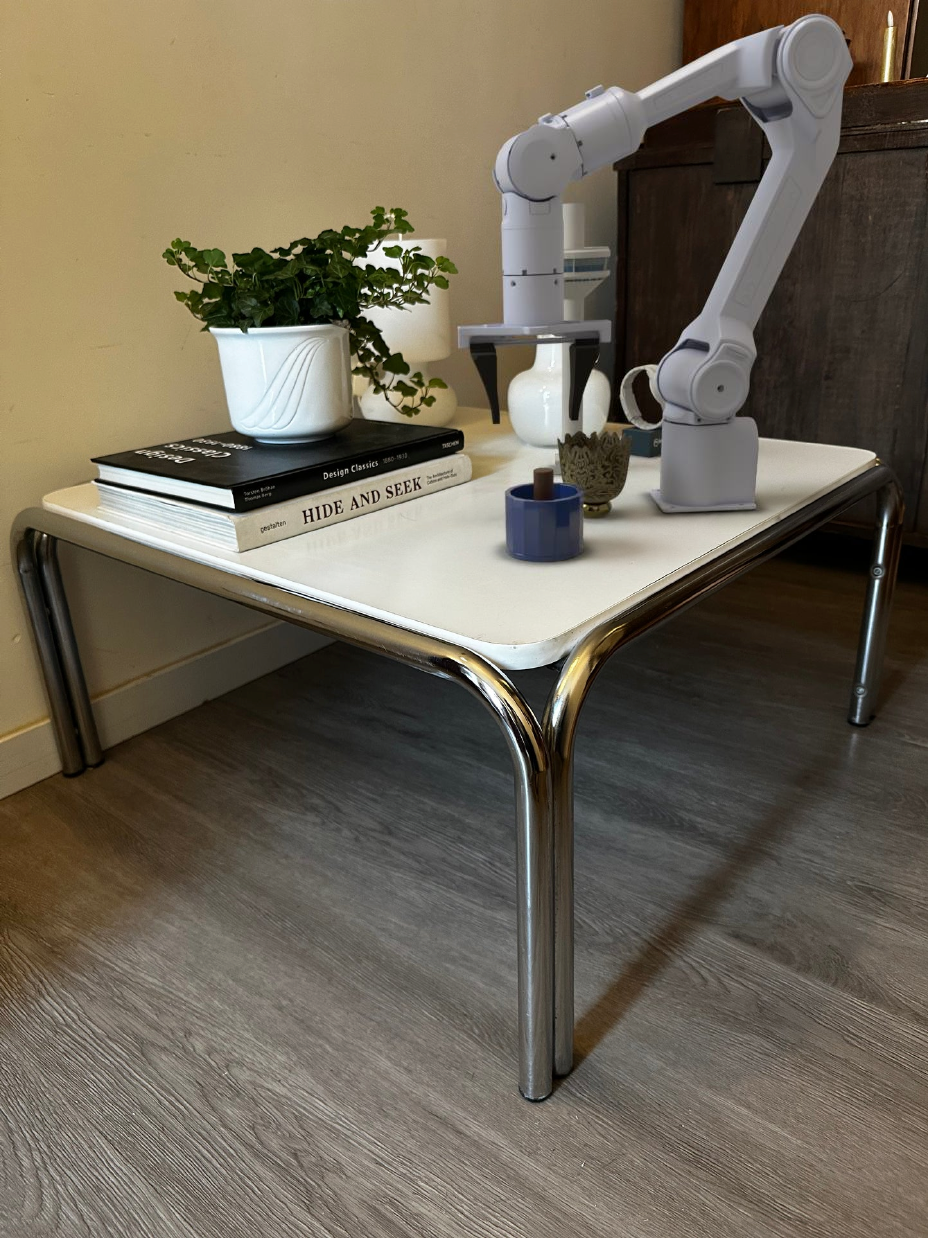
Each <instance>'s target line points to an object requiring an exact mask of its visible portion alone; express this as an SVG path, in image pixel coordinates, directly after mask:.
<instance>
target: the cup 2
mask: <svg viewBox="0 0 928 1238" xmlns="http://www.w3.org/2000/svg"><path fill="white" fill-rule="evenodd" d="M597 433H598V432H597V430H595V431H592V432H591V433H590V435H589V436H588V435H587V434H586V433H584V431H583V432H581V431H578V432H576V433H575V434H574V435H573V436H572V437H571V435H570V434H569V433H566V434H565V442H564V443H562V440H561V439H560V438H559V437H557V438H556V439H557V440H556V441H557V449H558V453H559V460H560V468H561V474H560V475H561V481H562V483H566V484H572V485H575V486H578V487H580V488H582V490H583V492H584V517H585V518H592V519H596V518H603V517H606V516H608V515H610V513H611V511H612V509H613V504H612V502H611V501H613V500H614V499H616V498H617V497H618V496H619V495H620V494H621V493H622V492H623V490H624V488H625V485H626V482H627V478H628V474H629V465H630V460H631V459H630V458H631V454H630V452H631V446H632V435H631V436H629V437H628V438H627V439H626V434H625V433H624V435H623V437H622V436H621V438H620V437H619V435H618V433H617V432H616V431H613V432H612V433H610V432H609V431H608V430H605V431H604V432H603V433H602V434H601V435H600V437H598V434H597Z"/></svg>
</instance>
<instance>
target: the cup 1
mask: <svg viewBox="0 0 928 1238" xmlns="http://www.w3.org/2000/svg"><path fill="white" fill-rule="evenodd" d="M504 516H505V518H504V519H505V547H506V554H508V555H509V556H510V557H512V558H515V559H518V560H521V561H525V562H526V561H527V562H535V563H548V562H549V563H550V562H559V561H565V560H569V559H572V558H575V557H578V556H579V555H580V554H582V552H583V551H584V549H583V547H584V519H585V518H584V492H583V490H582V488H580V487H578V486H575V485H572V484H566V483H563V482H557V481H556V482H555V481H554V500H541V501H539V500H534V482H527V483H521V484H518V485H517V484H516V485H514V486H511V487H509V488H507V489H506V490H504Z"/></svg>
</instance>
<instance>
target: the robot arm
mask: <svg viewBox="0 0 928 1238" xmlns="http://www.w3.org/2000/svg"><path fill="white" fill-rule="evenodd" d="M845 38H846V37H845V36H844V33H843V31H842V29H841V27H840V26H839V25H838V23H837V22H836V21H835V20H833V18H832V17H829V16H827V15H824V14H822V13H812V14H806V15H804V16H802V17H800V18H798V19H797V20H795V21H794V22H793V23H791V24H789V25H787V26H785V25H784V24H781V25H778V26H775V27H772V28H768V29H765V30H762V31H760V32H757V33H753V34H751V35H748V36H745V37H742V38H739V39H736V40H733V41H731V42H729V43H726V44H724V45H722V46H720V47H717V48H716V49H714V50H712V51H710V52H708V53H707V54H705V55H702V56H700V57H699V58H697V59H696V60H693V61H691V62H690V63H688V64H686V65H685V66H682V67H681V68H679V69H677V70H676V71H674V72H672V73H670V74H668V75H666V76H664V77H663V78H661V79H659V80H657V81H655V82H653V83H652V84H650V85H647V86H646V87H644V88H642V89H641V90H639V91H637V92H635V93H634V92H630V91H628V90H625V89H624V88H621V87H618V86H616V85H615V86H611V87H609V88H607V89H605V88H604V85H602V84H600V85H597V86H595V87H593V88H591V89H590V90H588V91H585V93H584V97H585V98H586V100H583V101H581V102H580V103H577V104H575V105H573V106H571V107H570V108H568V109H566V110H564V111H562V112H560V113H557V114H556V115H554V116H553V115H552V113H551V112H548V113H546V114H544V115H542V116H540V117H539V118H537V122H538V124H533V125H531V126H530V127H529V129H527V130H525V131H522V132H520V133H518V134H516V135H514V136H512V137H511V138H509V139H508V140H507V141H505V143H504V144H503V145H502V147H501V149H499V151H498V153H497V156H496V159H495V160H496V161H495V167H494V168H493V169H492V171H491V172H492V178H493V182H494V185H495V187H496V189H497V190H498V192H499V193H500V195H501V201H502V202H501V215H502V221H501V224H500V225H501V226H500V227H501V266H502V267H501V268H502V269H501V270H502V303H503V305H502V307H503V308H502V309H503V322H501V323H488V324H487V323H485V324H475V325H473V324H471V325H458V326H457V342H458V343H457V344H458V345H457V346H458V349H459V350H461V349H464V350H465V349H469V353H470V358H471V359H472V362H473V363H474V366H475V367H476V370H477V372H478V375H479V377H480V379H481V382H482V383H483V387H484V390H485V393H486V395H487V399H488V403H489V407H490V414H491V422H492V425H501V412H500V411H501V410H500V403H499V402H500V401H499V393H498V391H499V390H498V355H497V348H496V347H508V346H509V347H510V346H511V347H513V346H532V345H533V346H534V345H535V346H536V345H552V344H553V345H555V344H556V345H557V344H562V343H573V344H571V345H570V346H569V356H570V394H569V418H570V420H571V421H578V419H579V411H580V406H581V401H582V397H583V398H584V394H585V390H586V386H587V384H588V382H589V379H590V376H591V374H592V371H593V369H594V368H595V365H596V363H597V361H598V359H599V357H600V354H601V350H602V346H601V345H600V343H611V342H612V321H611V320H609V319H584V320H571V321H564V273H563V272H564V221H563V204H564V191H565V190H566V189H567V187H568V185H569V184H570V183H577V182H579V181H581V180H583V179H585V178H586V177H588V176H590V175H592V174H595V173H597V172H598V171H601V170H602V169H604V168H606V167H608V166H611V165H612V164H615V163H616V162H618V161H620V160H622V159H624V158H627V157H628V156H630V155H632V154H634V153H636V152H637V151H638V149H639V148H640V145H641V143H642V140H643V138H644V136H645V133H646V131H647V129H649V128H650V127H653V126H655V125H657V124H659V123H661V122H663V121H666V120H668V119H670V118H672V117H674V116H677V115H678V114H680V113H682V112H685V111H687V110H688V109H691V108H693V107H696V106H697V105H699V104H701V103H704V102H706V101H708V100H710V99H712V98H714V97H719V98H721V99H724V100H726V101H730V102H731V101H734V100H737V99H739V100H740V102H741V103H742V104H743V106H744V108H745V109H746V110H747V111H748V113H749V114H750V115H751V117H752V118H753V119H754V121H756V123H757V124H758V126H759V127H760V128H761V130H763V131H764V133H765V136H766V138H767V141H768V143H769V146H770V148H771V152H772V155H771V158H770V160H769V162H768V165H767V167H766V170H765V171H764V174H763V176H762V178H761V181H760V182H759V184H758V187H757V189H756V192H755V194H754V196H753V198H752V200H751V203H750V205H749V207H748V209H747V212H746V214H745V216H744V217H743V220H742V222H741V225H740V227H739V229H738V231H737V233H736V236H735V237H734V240H733V243H732V244H731V247H730V249H729V251H728V253H727V256H726V258H725V260H724V262H723V265H722V267H721V269H720V271H719V273H718V276H717V277H716V280H715V282H714V285H713V287H712V289H711V291H710V294H709V296H708V298H707V300H706V302H705V305H704V307H703V309H702V311H701V313H700V314H699V315H698V316H697V317H696V318H695V319H694V320H693V321H692V322H691V323H689V325H688V326H687V327H685V328H684V329H683V331H682V333H681V335H680V337H679V339H678V341H677V343H676V344H675V346H673V348H672V349H670V350H669V352H667V353H666V354H665V355H664V356H663V357H662V358H661V360H660V362H659V363H658V364H657V365H658V367H657V370H656V375H655V385H656V389H657V392H658V394H659V396H660V397H661V399H662V400H663V401H664V402H665V409H664V411H663V410H662V418H663V421H662V446H661V454H660V473H659V474H660V475H659V488H658V489H657V488H655V489H653V488H652V489H650V490H649V495H650V496H651V498H652V499H653V500H654V502H655V503H656V504H657V505H658V507H659V508H660V510H661V511H662V512H663V513H689V512H690V513H691V512H693V513H694V512H717V511H718V512H719V511H742V510H755V509H757V503H755V497H756V488H757V487H756V485H757V473H758V464H759V463H758V462H759V448H760V446H759V444H760V443H759V441H760V440H759V430H758V426H757V424H756V420H755V419H754V418H753V417H750V416H736V413H737V412H738V411H739V410H740V409H741V408H742V407H743V405H744V404H745V402H746V400H747V397H748V394H749V392H750V379H751V378H750V375H751V371H752V368H753V365H754V363H755V360H756V358H757V356H758V353H757V347H756V344H755V340H754V333H753V332H754V330H755V328H756V325H757V323H758V321H759V319H760V317H761V315H762V312H763V310H764V309H765V306H766V305H767V302H768V300H769V298H770V296H771V293H772V292H773V290H774V287H775V285H776V283H777V280H778V279H779V276H780V275H781V272H782V270H783V268H784V266H785V264H786V262H787V260H788V257H789V256H790V253H791V251H792V250H793V247H794V245H795V243H796V241H797V238H798V236H799V234H800V232H801V230H802V228H803V226H804V223H805V221H806V219H807V218H808V215H809V213H810V210H811V209H812V206H813V204H814V203H815V200H816V198H817V196H818V193H819V192H820V190H821V187H822V185H823V183H824V181H825V179H826V177H827V175H828V172H829V170H830V168H831V166H832V164H833V162H834V159H835V158H836V156H837V152H838V150H839V147H840V139H841V126H842V111H843V110H842V109H843V96H844V88H845V87H844V86H845V84H846V82H847V80H848V78H849V76H850V73H851V71H852V70H853V67H854V63H853V59H852V57H851V53H850V50H849V47H848V44H847V42H846V39H845ZM548 335H552V336H554V337H542V338H541V337H539V338H538V337H537V338H517V339H516V337H519V336H522V337H523V336H524V337H525V336H526V337H527V336H528V337H530V336H548Z"/></svg>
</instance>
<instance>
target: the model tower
mask: <svg viewBox="0 0 928 1238" xmlns="http://www.w3.org/2000/svg"><path fill="white" fill-rule="evenodd" d="M585 208H586V203H585V202H570V203H569V202H568V203H563V221H564V272H563V273H564V321H571V320H585V298H586V297H587V296H588V295H590V293H592V291H594V290H595V289H596V288H597V287H598V286H600V284H601V283H603V281H604V280H606V279H607V277H609V276H610V275H611V270H610V269H608V265H609V261H610V257H611V250H610V247H609V246H585V235H586V234H585V229H586V228H585V226H586V225H585V223H586V219H585V218H586V217H585V216H586V209H585ZM571 344H573V343H561V442H562V443H564V442H565V434H566V433H569V434H570V435H571V437H572V436H573V435H574V434H575V433H576V432H578V431H581V432H583V433H584V396H583V397H582V401H581V406H580V411H579V419H578V421H571V420H570V418H569V394H570V356H569V346H570V345H571ZM554 475H561V468H560V460H559V452H557V453H554Z"/></svg>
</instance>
